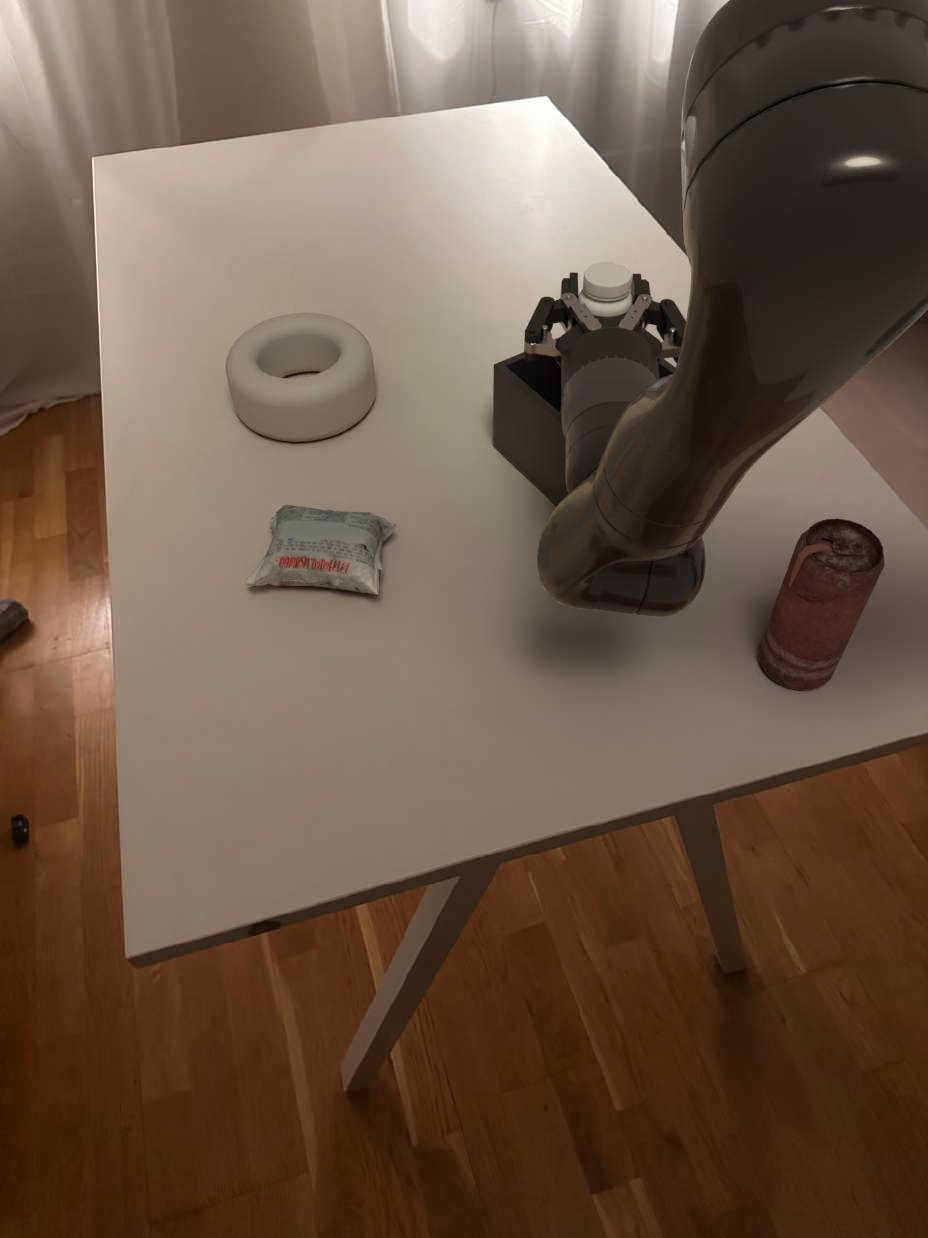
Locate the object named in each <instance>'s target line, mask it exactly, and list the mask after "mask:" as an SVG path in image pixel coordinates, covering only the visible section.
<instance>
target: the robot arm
mask: <svg viewBox="0 0 928 1238" xmlns="http://www.w3.org/2000/svg"><path fill="white" fill-rule="evenodd" d="M687 69H688V71H687V73H686V78H685V84H684V90H683V97H682V104H681V105H682V106H681V125H680V126H681V127H680V167H681V169H680V170H681V200H682V204H681V205H682V207H681V208H682V226H683V227H682V228H683V242H684V248H685V252H686V256H687V259H688V262H689V266H690V289H689V297H688V305H687V313H686V318H685V316H684V315H683V313H682V312H681V310H680V308H679V307H678V305H677V304H676V302H675V301H674V300H673V299H670V298H663V299H661V300H660V301H655V300H654V299H653V297H652V294H651V287H650V282H649V280H647V279H642V274H641V273H631V275H632V278H631V289H630V293H631V295H632V299H633V304H632V305H631V306H630V308H629V310H628V312H627V313H626V315H625V317H611V318H605V317H599V316H593V315H592V313H591V312H590V310H589V309H588V307H587V306H586V304H585V303H584V304H581V303H580V302H579V300H578V295H579V272H578V271H577V272H573V271H570V272H569V276H568V277H563V278H562V280H561V284H560V297H559V298H558V299H554V298H553V297H551V296H543V297H541V298H540V299H539V301H538V302H537V305H536V307H535V309H534V311H533V313H532V315H531V317H530V319H529V321H528V323H527V326H526V327H525V330H524V340H523V352H524V359H525V360H527V361H536V360H537V359H538V358H539V356H540V354H541V355H547V356H553V357H555V360H556V362H557V363H558V364H559V365H560V367H561V410H560V416H561V421H562V429H563V434H564V439H565V476H566V486H567V491H568V495H567V496H566V497H565V498H564V499H563V500H562V501H561V502H560V503H559V504H558V506H556V507H555V508H554V510H553V511H552V513H551V514H550V516H549V517H548V519H547V520H546V522H545V525H544V527H543V530H542V533H541V534H540V537H539V542H538V547H537V552H536V553H537V554H536V566H537V567H536V568H537V573H538V577H539V580H540V582H541V584H542V586H543V588H544V590H545V591H546V592H547V594H548V595H549V596H550V597H551V598H552V599H554V601H556V602H557V603H559V604H561V605H563V606H565V607H570V608H573V609H577V610H579V609H580V610H588V611H598V612H599V611H600V612H609V613H617V614H627V615H637V616H643V617H645V616H646V617H657V618H661V617H662V618H663V617H670V616H675V615H678V614H679V613H681V612H683V611H685V610H686V609H687V608H688V607H689V606H690V605H691V604H692V603H693V602H694V600H696V597H697V596H698V595H699V593H700V590H701V589H702V585H703V583H704V579H705V575H706V566H707V556H706V546H705V541H704V538H703V537H704V535H705V533H706V531H707V530H708V529H709V527H710V525H711V524H712V523H713V522H714V521H715V518H716V517H717V515H718V514H719V513H720V511H721V510H722V508H723V507H724V505H725V504H726V502H727V501H728V500H729V498H730V497H731V495H732V494H733V492H734V491H735V489H736V488H737V486H738V485H739V484H740V483H741V481H742V480H743V478H745V476H746V475H747V474H748V472H749V471H750V470H751V469H752V468H753V466H754V465H755V464H756V463H757V462H758V461H759V460H760V459H761V458H762V457H764V455H765V454H766V453H768V452H769V451H770V450H771V449H772V448H773V447H774V446H775V445H777V443H779V442H780V441H781V440H783V439H784V438H785V437H786V436H787V435H789V433H791V432H792V431H793V430H794V429H795V428H797V427H798V426H799V425H800V424H801V423H803V422H804V421H805V420H806V419H807V418H808V417H810V416H811V415H812V414H813V413H814V412H816V411H817V410H818V409H819V408H820V407H821V406H822V405H824V404H825V403H826V402H827V401H828V400H829V399H830V398H831V397H832V396H833V395H835V394H836V393H837V392H838V391H839V390H840V389H842V387H844V386H845V385H846V384H847V383H849V382H850V380H852V379H853V378H854V377H855V376H857V375H858V374H859V373H860V372H861V371H862V370H863V369H864V368H866V367H867V366H868V365H869V364H870V363H871V362H873V361H874V360H875V359H876V358H877V357H879V355H880V354H882V353H883V352H884V351H885V350H887V349H888V348H889V347H890V346H891V345H892V344H893V343H895V342H896V340H898V339H899V338H900V337H901V336H902V335H904V333H905V332H906V331H908V330H909V328H911V326H913V325H914V324H915V323H916V322H917V321H918V320H919V319H920V318H921V317H922V316H923V315H924V314H925V313H926V311H928V0H728V1H726V2H725V4H723V5H722V6H721V7H720V8H719V9H718V10H717V11H716V12H715V13H714V15H713V17H712V18H710V19H709V21H708V23H707V25H706V26H705V28H704V29H703V31H702V33H701V35H700V37H699V39H698V41H697V43H696V45H695V48H694V49H693V53H692V56H691V58H690V62H689V66H688V68H687ZM555 324H560V325H561V327H562V329H563V331H564V333H563V334H562V335H560V336H559V337H557V338H558V339H557V341H556V340H554V339H555V338H554V337H553V334H552V332H551V331H552V330H553V328H554V325H555ZM649 325H651V326H656V327H655V329H656V331H657V333H658V334H659V336H660V338H661V340H662V341H661V340H660V339H659V338H658V337H656V336H655V335H653V334H652V333H651V332H650V331H649V330H647V329H648V327H649ZM671 358H672V359H673V361H674V362H675V364H676V365H675V367H676V368H675V371H674V373H673V374H671V375H668V376H665V377H663V378H660V379H659V371H658V364H659V362H660V359H665V360H666V359H671Z"/></svg>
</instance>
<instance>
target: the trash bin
mask: <svg viewBox="0 0 928 1238" xmlns="http://www.w3.org/2000/svg"><path fill="white" fill-rule="evenodd" d="M558 338H559V337H557V338H553V339H554V340H556V341H557V339H558ZM675 368H676V366H675V365H673V364H672V363H670V362H669V361H668V360H667V359H666V358H665V359H660V362H659V364H658V371H659V379H660V378H663V377H665V376H668V375H671V374H673V373H674V371H675ZM492 389H493V390H492V394H493V395H492V396H493V397H492V403H493V404H492V446H493V448H494V449H496V451H498V452H499V454H501V456H503V457H504V458H505V459H506V460H507V461H508V462H509V463H510V464H511V465H512V466H513V467H514V468H516V470H517V471H519V473H521V474H522V475H523V476H524V478H526V479H527V480H528V481H529V482H530V483H532V485H533V486H534V487H535V488H537V490H539V492H541V493H542V494H543V495H544V496H545V497H546V498H547V499H548V500H549V501H550V502H551V503H552V504H554V506H556V507H557V506H558V504H559V503H560V502H561V501H562V500H563V499H564V498H565V497H566V496H567V495H568V491H567V486H566V476H565V439H564V434H563V429H562V421H561V416H560V410H561V367H560V365H559V364H558V363H557V362H556V360H555V357H553V356H547V355H541V354H540V356H539V358H538V359H537V360H536V361H527V360H525V359H524V351H523V352H520V353H518V354H515V355H514V356H511V357H508V358H506V359H503V360H501V361H499V362H496V363H494V364H493V387H492Z"/></svg>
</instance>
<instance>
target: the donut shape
mask: <svg viewBox="0 0 928 1238" xmlns="http://www.w3.org/2000/svg"><path fill="white" fill-rule="evenodd" d="M305 372H317V373H316V374H312V375H307V376H304V377H287V376H290V375H294V374H298V373H305ZM375 373H376V372H375V365H374V355H373V350H372V347H371V344H370V343H369V341H368V339H367V338H366V336H365V335H364V334H363V333H362V332H361V330H359V328H357V327H355V326H354V325H353V324H351V323H350V322H348V321H346V320H344V319H341V318H338V317H336V316H332V315H328V314H323V313H314V312H300V313H299V312H298V313H288V314H284V315H280V316H275V317H272V318H269V319H266V320H263V321H262V322H261V321H260V322H259V323H256V324H255V325H253V326H252V327H250V328H248V329H247V330H246V331H245V332H243V333H242V334H241V335H240V336H239V337H237V339H236V340H235V341H234V343H233V344H232V345H231V347H230V348H229V351H228V353H227V356H226V361H225V376H226V380H227V384H228V388H229V391H230V396H231V400H232V404H233V408H234V411H235V413H236V414H237V416H238V418H239V419H240V421H242V422H243V424H244V425H246V426H247V427H248V428H249V429H251V430H252V431H254V432H256V433H257V434H259V435H261V436H264V437H266V438H270V439H274V440H276V441H277V440H279V441H284V442H291V443H294V442H295V443H296V442H297V443H298V442H299V443H301V442H313V441H318V440H323V439H327V438H331V437H333V436H335V435H339V434H340V433H343V432H345V431H347V430H348V429H350V428H352V427H353V426H355V425H356V424H357V423H359V422H360V421H361V420H362V419H363V417H365V416H366V415H367V413H368V412H369V411H370V409H371V407H372V406H373V404H374V401H375V397H376V393H377V383H376V374H375Z"/></svg>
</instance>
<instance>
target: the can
mask: <svg viewBox="0 0 928 1238" xmlns="http://www.w3.org/2000/svg"><path fill="white" fill-rule="evenodd" d="M884 568H885V554H884V546H883V544H882V542H881V540H880V538H879V537H878V536H877V535H876V534H875V532H873V531H872V530H871V529H869V528H867V527H866V526H864V525H863V524H861V523H859V522H855V521H854V520H853V521H852V520H850V519H844V518H826V519H823V520H819V521H816V522H815V523H814V524H812V525H810V526H809V527H808V529H806V530H805V531H804V532H802V533H801V535H800V536H799V538H798V540H797V542H796V544H795V546H794V549H793V552H792V555H791V558H790V561H789V563H788V566H787V568H786V572H785V575H784V577H783V580H782V583H781V585H780V588H779V591H778V594H777V597H776V600H775V602H774V604H773V607H772V611H771V613H770V616H769V618H768V621H767V624H766V626H765V630H764V633H763V635H762V638H761V641H760V643H759V646H758V655H757V656H758V660H759V663H760V666H761V668H762V669H763V671H764V672H765V673H766V675H767V676H768V677H769V678H770V679H771V680H773V681H774V682H775V683H776V684H778V685H780V686H782V687H784V688H786V689H789V690H790V689H791V690H795V691H808V690H809V691H810V690H814V689H817V688H819V687H822V686H824V685H826V684H827V682H829V681H830V680H831V679H832V678H833V676H834V674H835V671H836V669H837V667H838V665H839V663H840V661H841V658H842V657H843V654H844V652H845V650H846V648H847V646H848V644H849V642H850V640H851V637H852V635H853V633H854V632H855V629H856V627H857V625H858V622H859V621H860V619H861V616H862V615H863V612H864V610H865V608H866V606H867V605H868V602H869V600H870V597H871V595H872V594H873V591H874V589H875V587H876V585H877V583H878V580H879V578H880V576H881V574H882V572H883V570H884Z"/></svg>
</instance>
